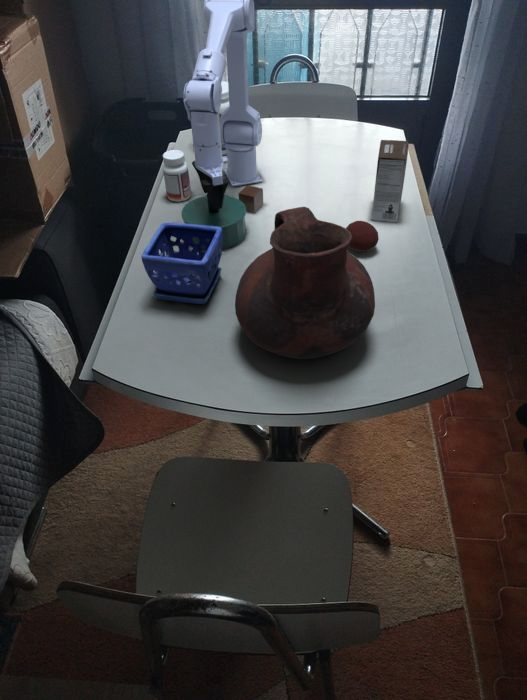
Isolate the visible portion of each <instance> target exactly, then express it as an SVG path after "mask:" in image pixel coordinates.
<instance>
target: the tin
mask: <svg viewBox="0 0 527 700" xmlns="http://www.w3.org/2000/svg"><path fill="white" fill-rule="evenodd" d="M183 224H187V223H185V222H184V221H183ZM246 230H247V229H246V216H245V217H244V218H243V219H242V220H241V221H240V222H239V223H237V224H235V225H233V226H231V227H228V228H224V229H222V231H223V245H222V250H225V249H229V248H231V247H234V246H236V245H238V244H239V243H240V242H241V241H243V239H244V238H245V235H246ZM207 240H209V239H207ZM193 241H194V242H196V243H198V242H199V238H198V237H193ZM201 248H202V250H204V251H206V247H205V246H201Z"/></svg>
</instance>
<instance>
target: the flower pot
mask: <svg viewBox="0 0 527 700" xmlns="http://www.w3.org/2000/svg"><path fill="white" fill-rule="evenodd" d="M172 237H173V238H175V241H174V240H172ZM193 237H198V238H199V242H198V243H196V242H194V241H193ZM207 239H209V240H207ZM182 241H183V242H182ZM222 245H223V231H222V228H221V227H214V226H206V225H196V224H185V223H184V222H183V223H181V222H162V223H161V224H160V225H159V226H158V228H157V229H156V231H155V232H154V234H153V235H152V237H151V238H150V241H149V242H148V243H147V246H146V247H145V249H143V252H142V254H141V263H142V265H143V267H144V270H145V272H146V274H147V276H148V278H149V280H150V281H151V282H152V284H153V285H154V286H155V287H156V288H155V289H154V291H153V294H152V295H153V296H154V297H155V298H156V299H159V300H162V301H163V300H164V301H173V302H180V303H185V304H186V303H188V304H196V305H205V304H206V303H207V302H208V300H209V299H210V296H211V295H212V292H213V290H214V289H215V286H216V284H217V282H218V280H219V277H220V275H221V273H222V267H220V262H221V258H222V257H221V256H222V252H223V249H222ZM201 246H205V247H206V250H204V249H202V248H201ZM174 247H178V250H177V251H176V250H174ZM190 247H191V248H192V249H189V248H190Z"/></svg>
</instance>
